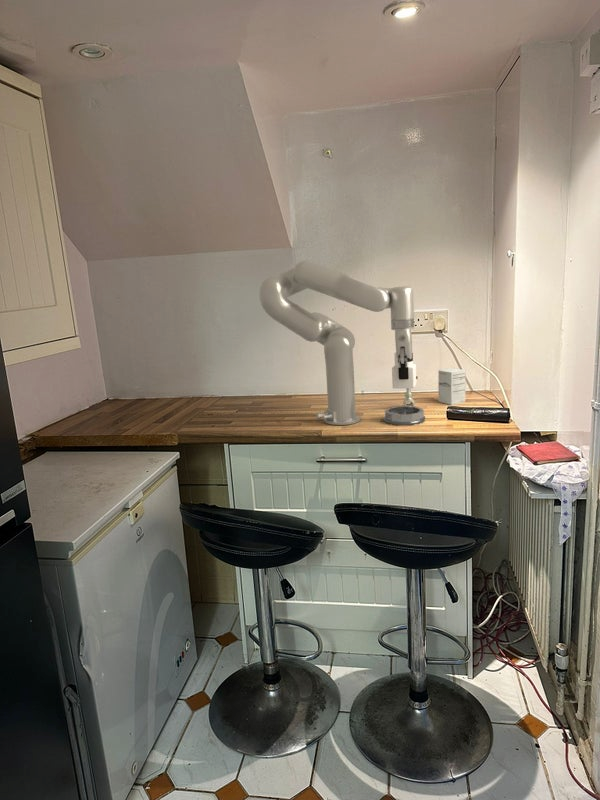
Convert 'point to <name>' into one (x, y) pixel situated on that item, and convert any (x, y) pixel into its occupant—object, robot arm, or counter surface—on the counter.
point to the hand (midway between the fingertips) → (404, 376)
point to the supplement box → (452, 386)
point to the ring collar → (404, 415)
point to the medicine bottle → (411, 372)
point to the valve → (409, 397)
